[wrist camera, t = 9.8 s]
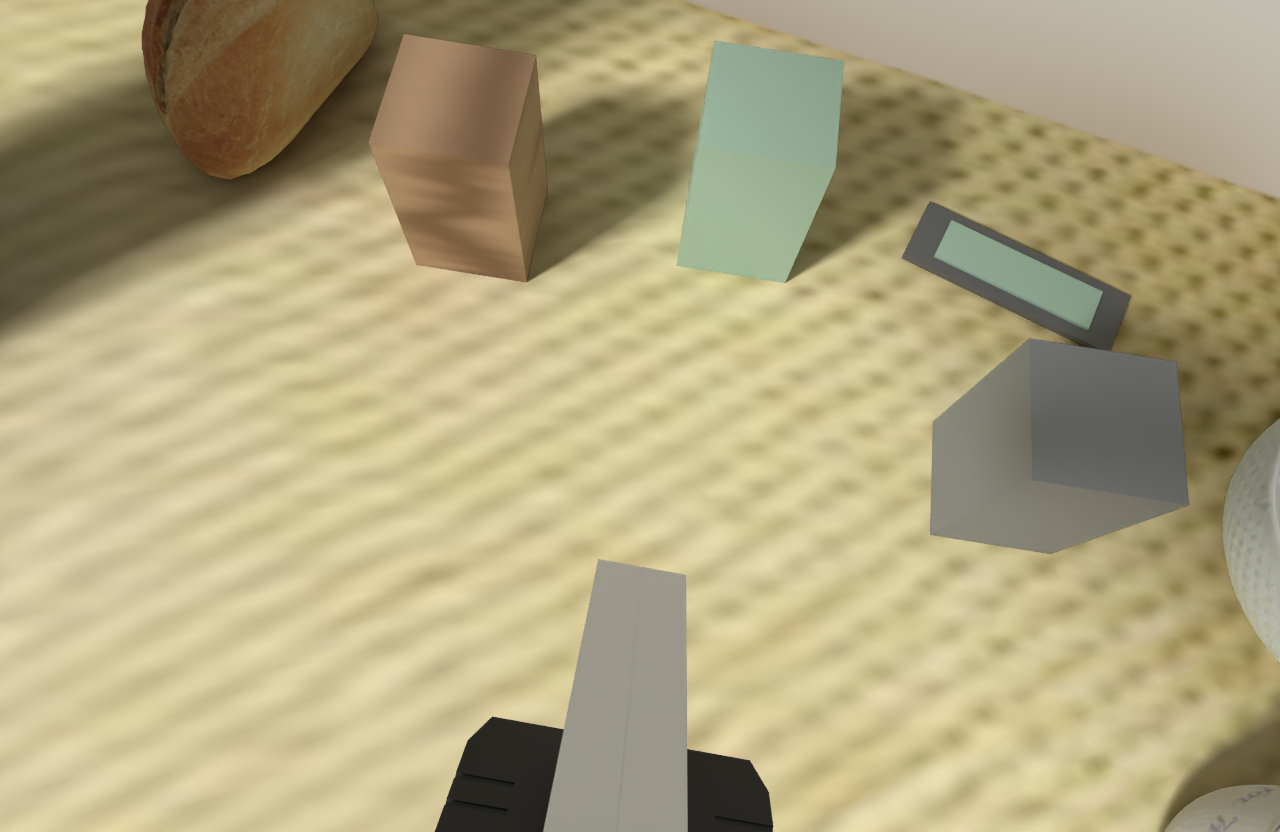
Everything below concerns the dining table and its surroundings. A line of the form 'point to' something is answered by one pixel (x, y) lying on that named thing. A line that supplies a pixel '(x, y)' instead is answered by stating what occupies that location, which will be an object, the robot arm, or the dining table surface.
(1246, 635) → the dining table surface
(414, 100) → the walnut block
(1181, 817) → the teacup
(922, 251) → the card
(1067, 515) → the charcoal block
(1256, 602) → the cereal bowl
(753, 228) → the sage block
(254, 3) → the bread roll
